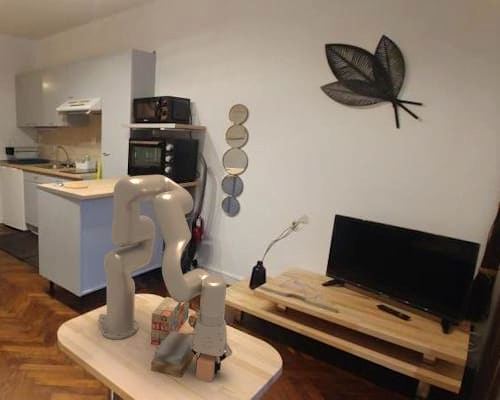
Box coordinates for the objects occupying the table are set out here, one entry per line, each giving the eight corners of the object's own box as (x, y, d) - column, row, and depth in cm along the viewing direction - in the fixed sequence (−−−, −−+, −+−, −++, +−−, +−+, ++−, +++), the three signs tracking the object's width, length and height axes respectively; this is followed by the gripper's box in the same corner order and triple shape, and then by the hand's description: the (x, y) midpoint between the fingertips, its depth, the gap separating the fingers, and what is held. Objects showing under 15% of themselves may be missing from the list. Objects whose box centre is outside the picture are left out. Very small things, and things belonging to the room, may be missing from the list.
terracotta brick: (195, 378, 103) (197, 361, 102) (204, 362, 110) (205, 345, 109) (211, 382, 102) (212, 364, 101) (219, 365, 109) (220, 348, 108)
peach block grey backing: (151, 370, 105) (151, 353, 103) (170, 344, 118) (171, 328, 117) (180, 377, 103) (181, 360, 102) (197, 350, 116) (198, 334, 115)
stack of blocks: (174, 314, 138) (175, 286, 136) (188, 316, 137) (190, 288, 135) (150, 344, 117) (151, 312, 115) (167, 347, 116) (168, 315, 114)
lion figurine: (186, 340, 121) (188, 318, 119) (187, 332, 126) (189, 310, 125) (227, 341, 123) (229, 318, 121) (226, 332, 128) (228, 311, 126)
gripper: (180, 317, 101) (178, 371, 104) (235, 328, 97) (230, 383, 101) (190, 306, 108) (187, 356, 111) (241, 315, 105) (237, 367, 108)
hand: (208, 368), depth 106 cm, fingers closed on terracotta brick, 4 cm apart
